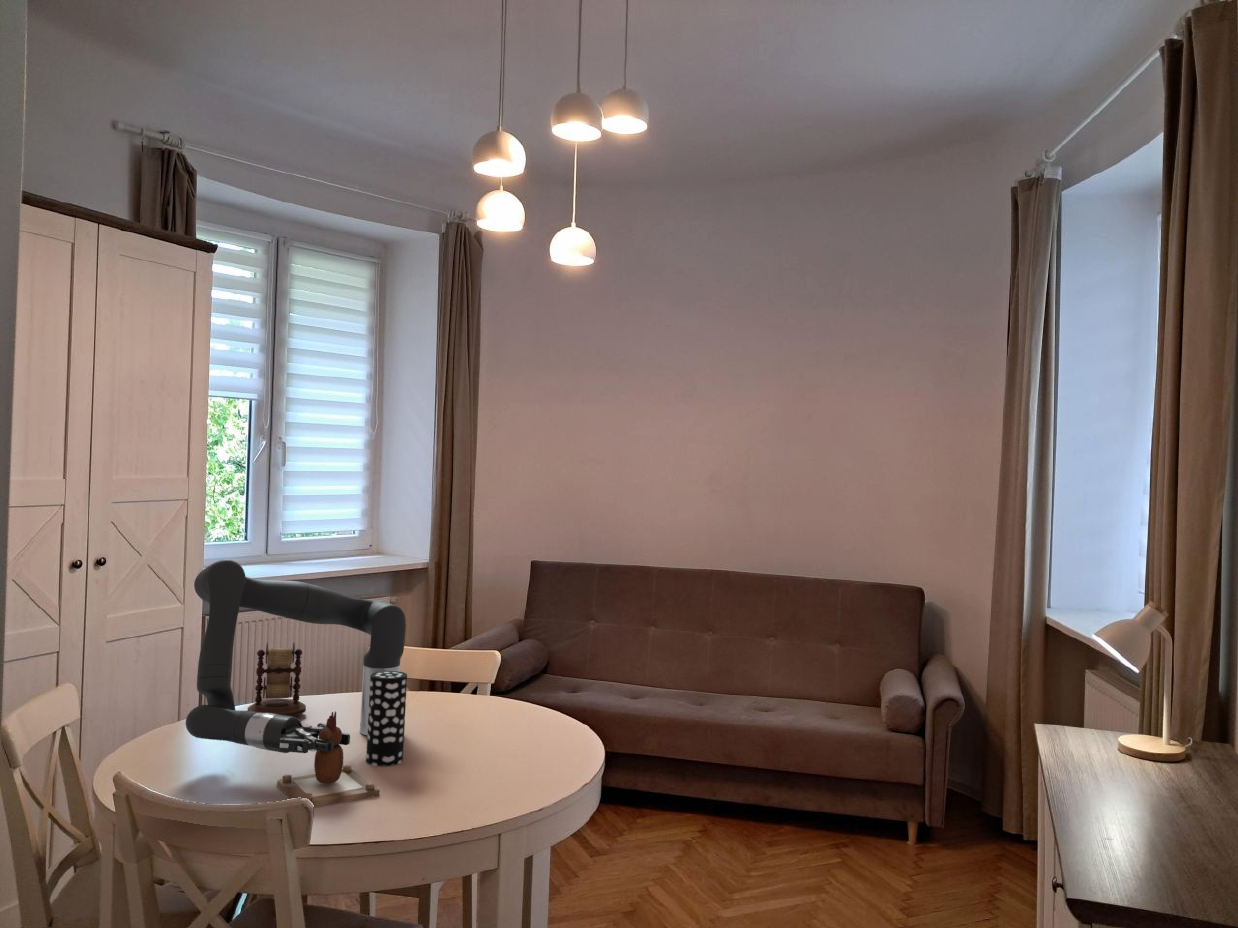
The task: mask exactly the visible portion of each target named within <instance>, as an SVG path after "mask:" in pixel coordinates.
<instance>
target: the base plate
mask: <svg viewBox="0 0 1238 928" xmlns="http://www.w3.org/2000/svg"><path fill="white" fill-rule="evenodd" d="M375 785H376V784H375V783H374V782H370V781H369V780H367V779H366V778H365V777H363V776H362V775H361V774H359V773H358V772H357V771H355V770H354V768H352V765H349V764H348V765H346V764H345V765H343V768H342V772H341V775H340V778H339V779H338V780H337V781H336V782H334V783H329V784H326V783H320V782H319V781H318V780H317V779H316V775H315V773H313V774H307V775H300V776H295V777H292V775H291V774H284V775H282V777H281V779H277V780H276V786H277V787H278V788H279V789H280V790H281V791H282V792H283V794H285V795H286V796H287V797H288V798H289V799H290V798H298V797H301V798H307V799H309V800H310V801H311V802H312V803H313V805H314V808H318V807H323V806H324V807H325V806H329V805H335V804H340V803H346V802H351V801H357V800H361V799H368V797H369V798H373V797H372V796H374V797H379V796H380V791H381V789H379V788H378V787H377V786H375Z"/></svg>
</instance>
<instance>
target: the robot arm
mask: <svg viewBox="0 0 1238 928" xmlns="http://www.w3.org/2000/svg"><path fill="white" fill-rule="evenodd" d="M193 587H194V591H195V593H196V594H197V596H198V597H199V598H200V599H201V600H202V601H203V602H205V603H208V604H209V609H208V610H209V614H208V618H207V619H208V620H207V626H206V628H205V633H204V636H203V640H202V644H201V646H200V652H199V657H198V663H197V675H196V676H197V677H196V690H197V692H198V693H199V694H201V695H203V696H204V697H205V698H206V703H207V704H201V705H197V706H196V707H194V708H193V709H191V710H190V711H189V712H188V714H187V716H186V719H185V728H186V730H187V732H188V733H189V734H190V735H191V736H192V737H194V738H196V739H201V740H202V739H204V740H212V741H215V740H216V741H224V742H225V741H226V742H230V743H235V744H238V745H244V746H250V747H253V748H256V749H260V750H265V751H271V752H277V753H283V754H288V753H295V754H296V753H298V754H307V753H309V751H310V752H316V751H317V750H318V751H324V752H332V751H333V750H334V742H333V741H330V740H324V739H319V733H320V731H321V729H322V728H324V727H326V723H322V722H319V723H317V726H313V725H306V724H305V725H303V724H302V722H301V721H300V719H299V718H298V717H297V718H296V717H292V716H286V715H279V714H273V713H259V712H253V711H248V710H238V709H237V710H236V706H235V705H236V704H235V700H234V694H233V691H232V690H233V689H232V686H231V685H232V675H233V674H232V673H233V671H232V670H233V658H234V657H233V654H234V644H235V636H236V629H237V622H238V617H239V612H240V608H244V609H252V610H255V611H258V612H261V613H266V614H269V615H273V616H278V617H282V618H286V619H289V620H290V619H291V620H295V621H298V622H303V623H309V624H315V625H316V624H317V625H338V626H344V627H348V628H352V629H355V630H357V631H360V632H362V633H365V634H368V635H370V645H369V649H368V651H367V652H366V653H364V655H363V664H362V665H363V667H362V668H363V669H362V683H361V684H362V687H361V703H360V705H361V707H360V722H359V723H360V725H359V726H360V727H359V733H360V734H362V735H364V736H367V734H368V715H369V695H370V676H371V674H372V673H375V672H380V671H399V672H401V671H400V669H401V659H402V656H403V654H404V651H405V639H406V630H407V629H406V628H407V626H406V625H407V623H406V621H407V620H406V619H407V618H406V615H405V612H404V610H402V608H400V607H399V606H398V605H396V604H393V603H390V602H385V601H381V600H379V601H378V600H369V599H361V598H355V597H351V596H347V595H344V594H342V593H340V592H337V591H335V590H332V589H330V588H329V589H328V588H325V587H323V586H320V585H316V584H311V583H308V582H303V581H298V580H297V581H295V580H285V579H284V580H275V579H274V580H273V579H272V580H271V579H269V580H268V579H267V580H266V579H256V578H254V577H249V576H246V573H245V570H244V568H243V567H242V565H241V564H239V563H238V562H237V561H235V560H232V559H229V558H227V559H225V558H224V559H220V560H217V561H216V562H213V563H211V564H210V565H208V566H206V567H205V568H203V569H202V570H201V571H200V572H199V573H198V574H197V576H195V579H194V583H193ZM350 743H351V735H350V734H349V733H345V732H342V740H341V742H340V743H339V745H344V746H347V745H350Z"/></svg>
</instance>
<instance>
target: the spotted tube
mask: <svg viewBox="0 0 1238 928" xmlns="http://www.w3.org/2000/svg"><path fill="white" fill-rule="evenodd" d="M407 683H408V674H407V673H406V672H402V671H400V672H399V671H380V672H375V673H372V674H371V676H370V695H369V715H368V734H367V735H366V736H367V737H366V755H365V757H366V758H365V760H366V761H365V762H366V763H367V764H368V765H369V766H374V767H390V766H391V767H392V766H396V765H399V764H401V763H402V762H403V760H404V746H405V745H404V743H405V726H406V724H405V723H406V709H407V708H406V707H407V706H406V705H407V704H406V703H407V688H408V687H407V686H408V685H407Z"/></svg>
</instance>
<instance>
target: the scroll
mask: <svg viewBox="0 0 1238 928" xmlns="http://www.w3.org/2000/svg"><path fill="white" fill-rule="evenodd" d="M295 645H296V643H295V642H294V641H293V642H292V647H287V648H286V647H283V648H278V647H276V648H275V647H274V648H273V647H272V648H271V647H270V648H269V642H266V646H265V647H266V649H265V650H264V649H259V650H258V651H256V652H257V653H256V655H257V659H258V661H257V668H256V670H255V671H256V677H257V679H256V681H255V682H256V685H255V688H254V689H255V691H256V692H255V694H256V697H255V699H254V701H255V702H254V703H253V704H251V705H249V706H248V707H247V708H246V709H247V710H246V711H253V712H259V713H273V714H279V715H286V716H292V717H296V718H298V717H299V715H302V714H304V713H306V710H307V709H306V708H307V707H306V704H305V703H303V702H301V701H300V695H299V693H300V689H301V683H300V681H301V679H300V676H301V673H302V666H301V664H302V663H301V659H302V656H301V655H303V650H302V649H300V648H297V649H296V648H295V647H296V646H295ZM264 656H265V657H264ZM264 658H265V659H264ZM264 660H265V665H266V666H267V668H264ZM294 661H295V663H294ZM292 664H294V665H295V666H294V667H293V668H292V667H291V666H292ZM291 673H293V675H294V676H295V677H294V679H293V675H292V676H291ZM264 674H266V676H265V677H263V676H264ZM293 682H294V684H293ZM292 692H293V693H294V694H293V696H292ZM262 698H263V699H262Z"/></svg>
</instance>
